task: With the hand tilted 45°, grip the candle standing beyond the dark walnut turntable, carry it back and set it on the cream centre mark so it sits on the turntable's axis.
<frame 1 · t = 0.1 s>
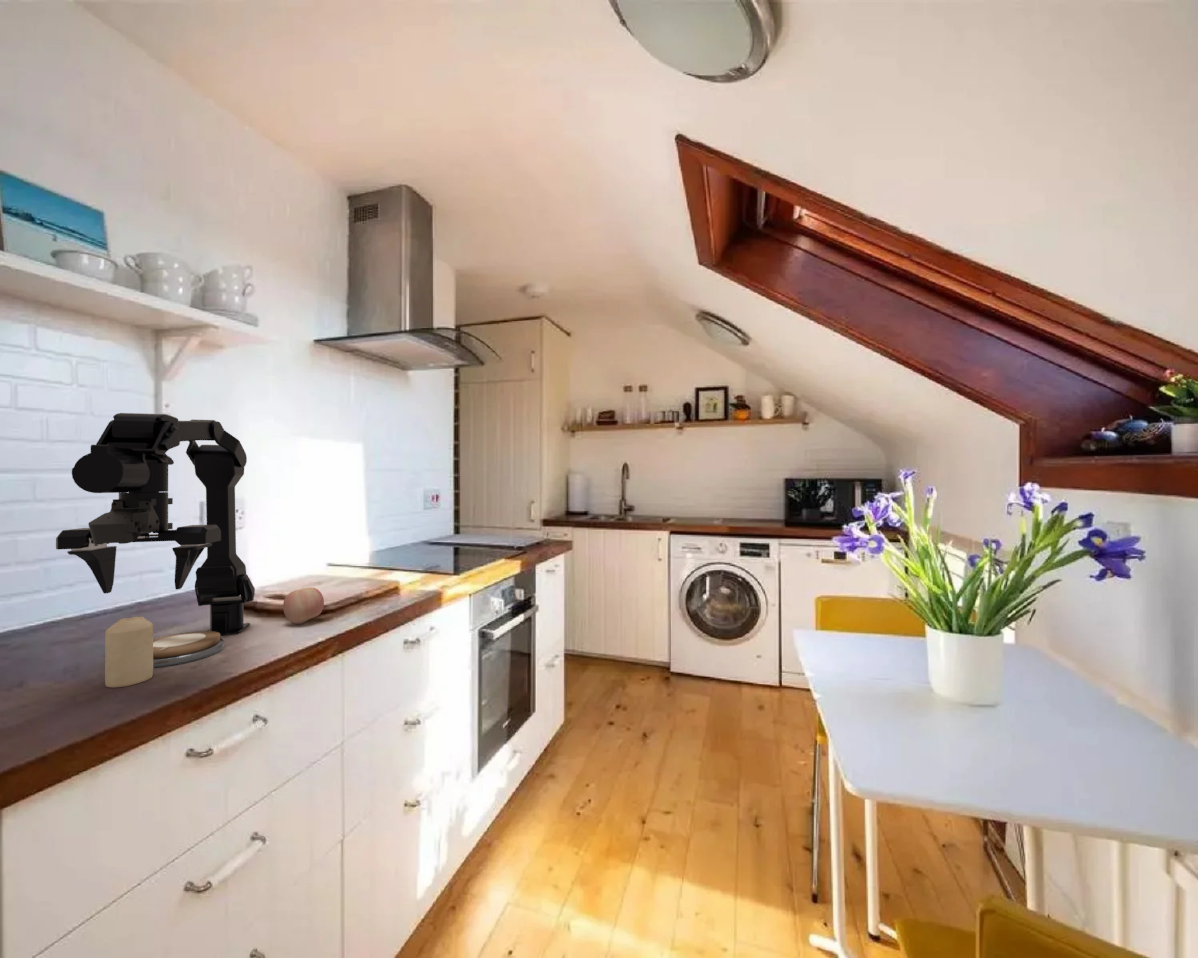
hand: (143, 590, 76), 15 cm above the kitchen counter, tool pointing down, fingers open, 9 cm apart
turntable: (179, 643, 89), point 2 cm above the kitchen counter, hinge at 0.0°
turntable base: (179, 654, 89), on the kitchen counter
candle: (129, 681, 77), on the kitchen counter
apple: (303, 623, 109), on the kitchen counter
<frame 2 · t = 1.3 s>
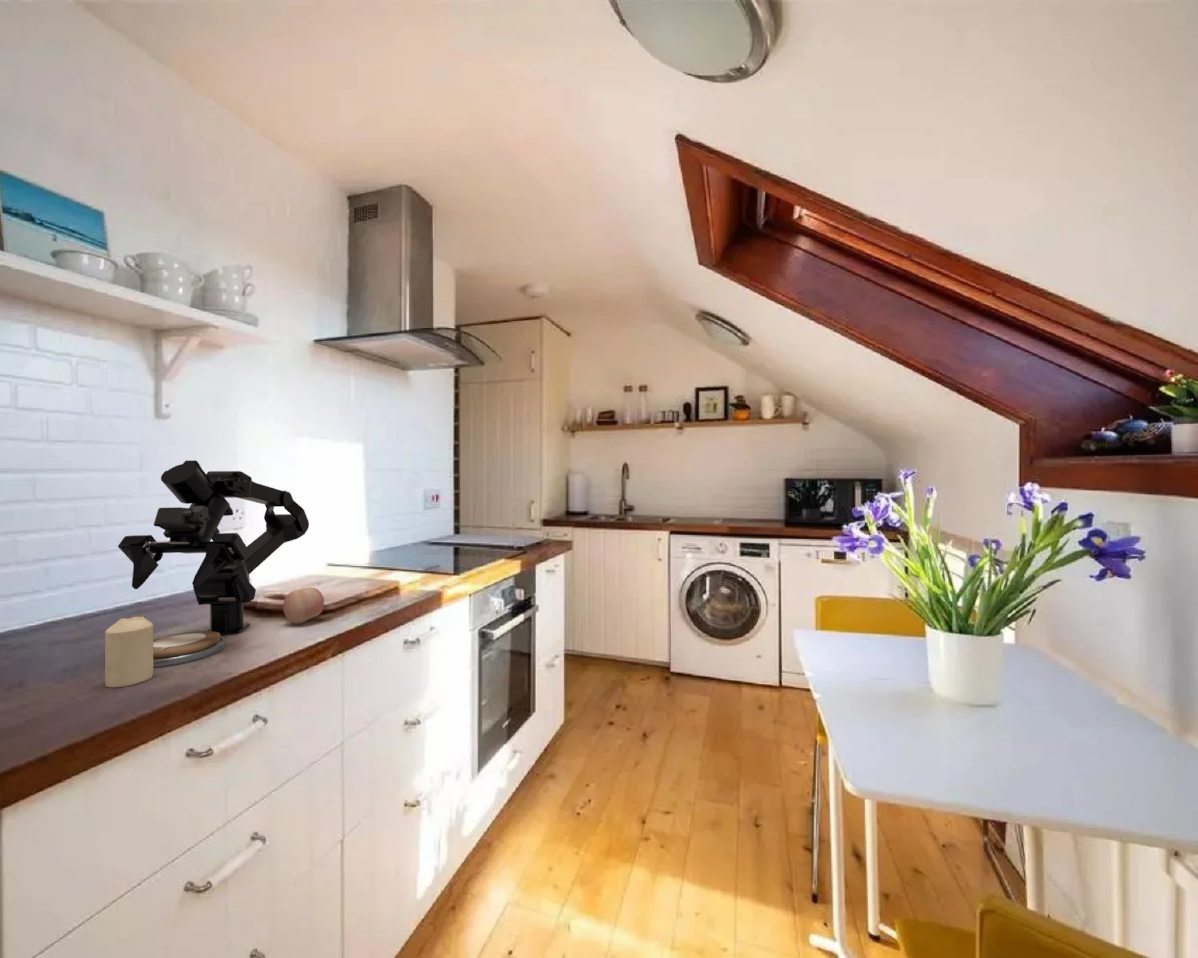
hand: (164, 586, 85), 13 cm above the kitchen counter, tool tilted 45°, fingers open, 9 cm apart
nothing on the kitchen counter moved.
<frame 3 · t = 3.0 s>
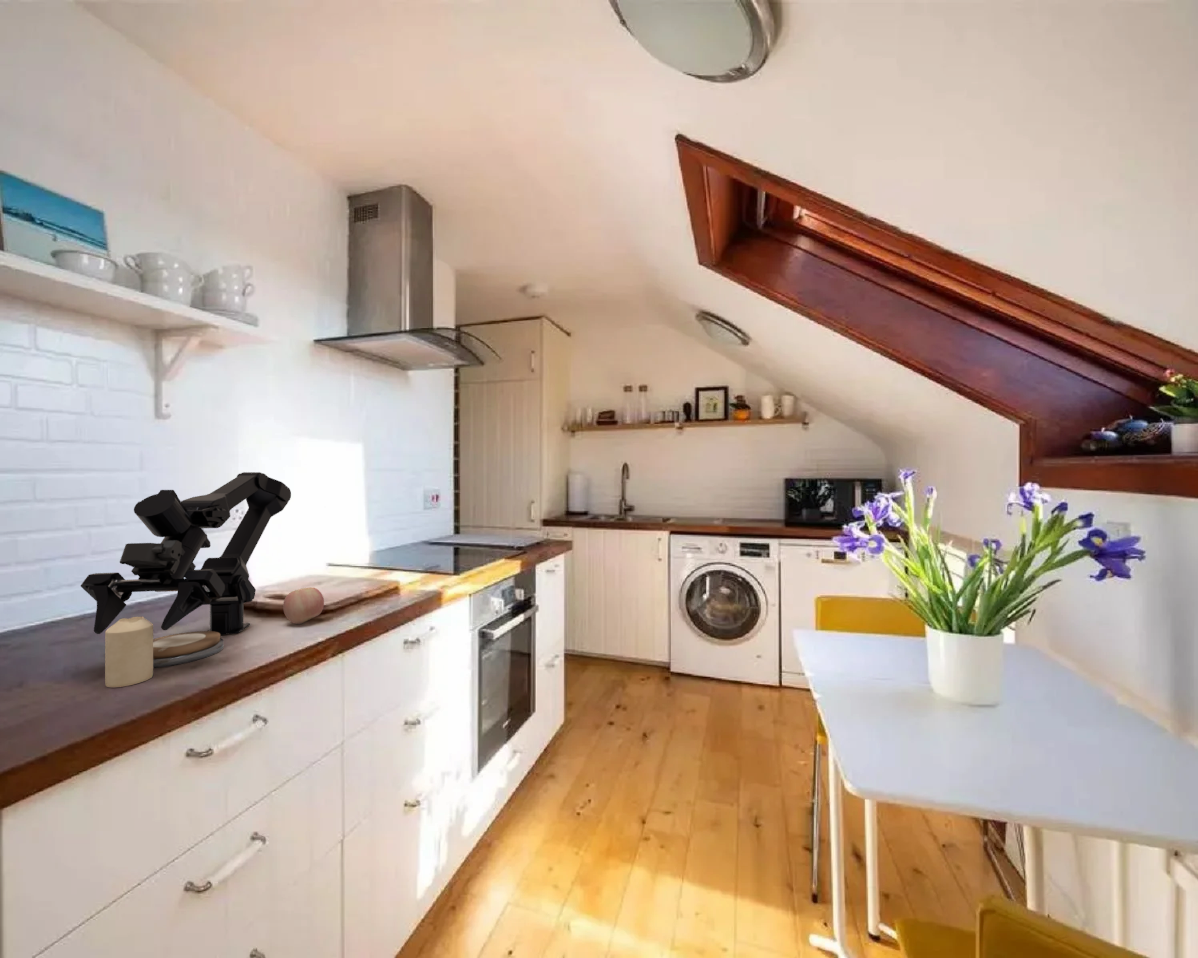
hand: (130, 630, 77), 8 cm above the kitchen counter, tool tilted 45°, fingers open, 9 cm apart
nothing on the kitchen counter moved.
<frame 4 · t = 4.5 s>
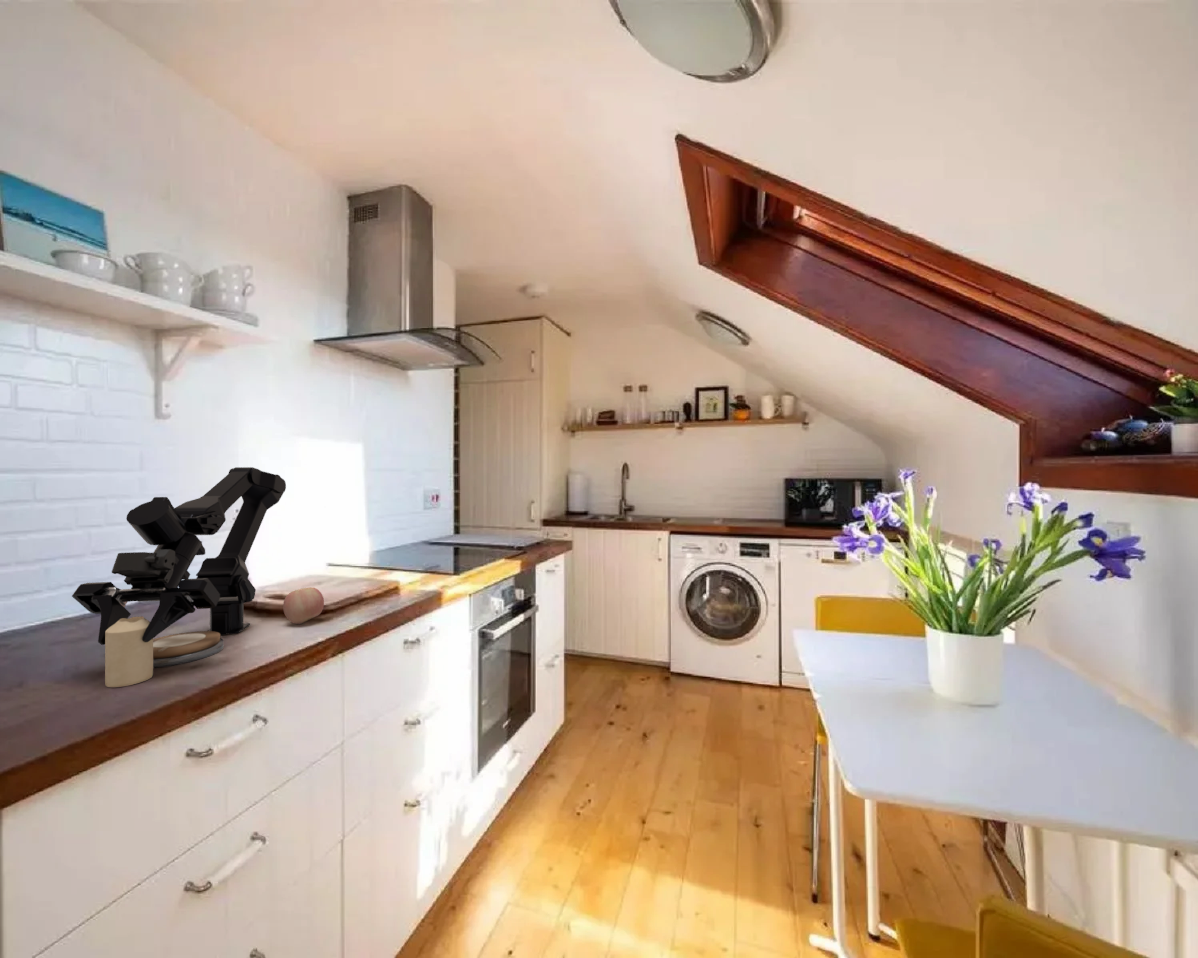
hand: (122, 642, 76), 7 cm above the kitchen counter, tool tilted 45°, fingers closed on candle, 5 cm apart
candle: (129, 681, 77), on the kitchen counter, touching gripper
everything else where it was.
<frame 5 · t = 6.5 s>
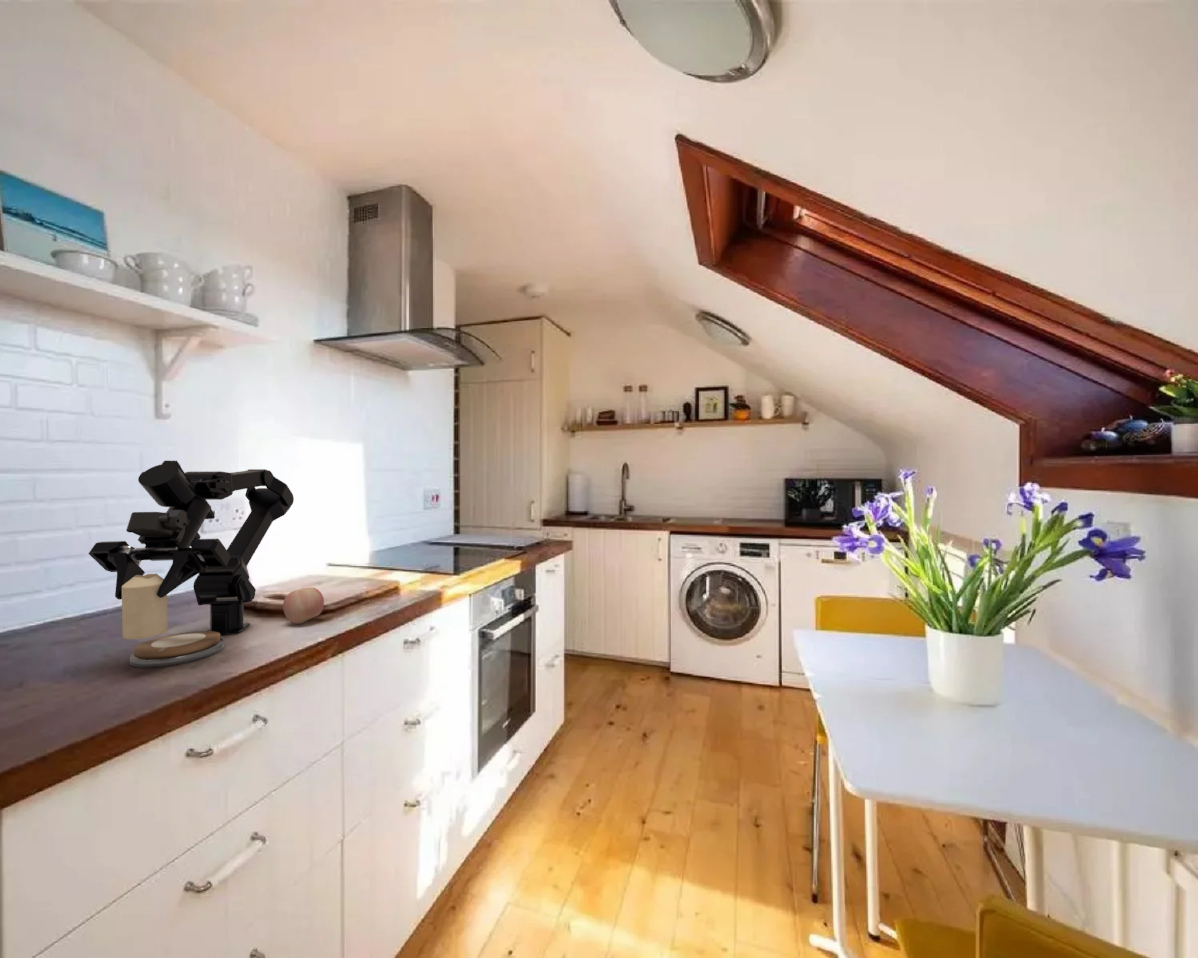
hand: (138, 597, 79), 13 cm above the kitchen counter, tool tilted 45°, fingers closed on candle, 5 cm apart
candle: (145, 635, 81), point 6 cm above the kitchen counter, touching gripper
everything else where it was.
when the fingers open (10 cm above the kitchen counter, at t = 8.7 s): candle stays where it is, resting on turntable.
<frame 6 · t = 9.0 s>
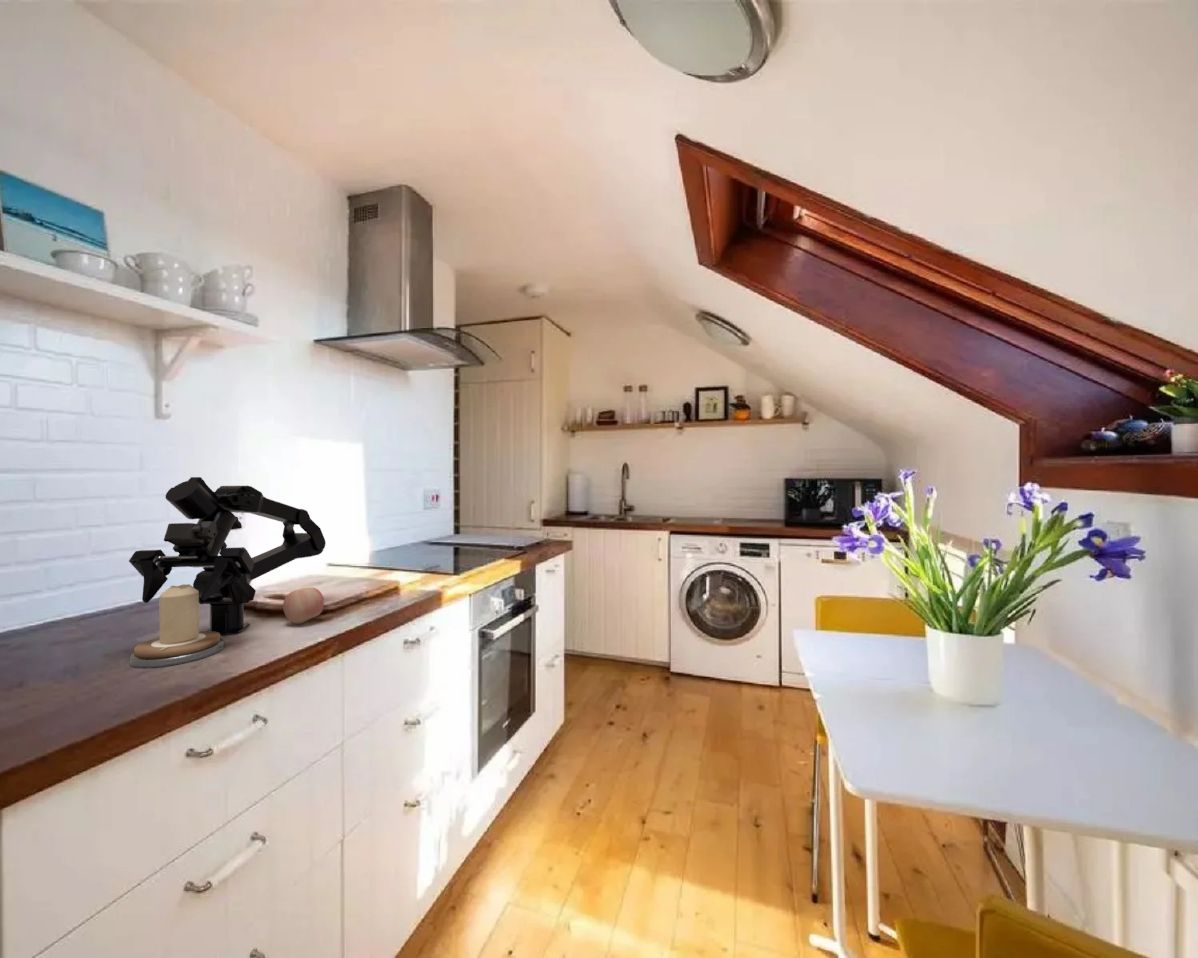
hand: (174, 600, 88), 10 cm above the kitchen counter, tool tilted 45°, fingers open, 9 cm apart
turntable: (179, 643, 89), point 2 cm above the kitchen counter, hinge at 0.0°, touching candle
candle: (179, 640, 89), point 3 cm above the kitchen counter, touching turntable
everything else where it was.
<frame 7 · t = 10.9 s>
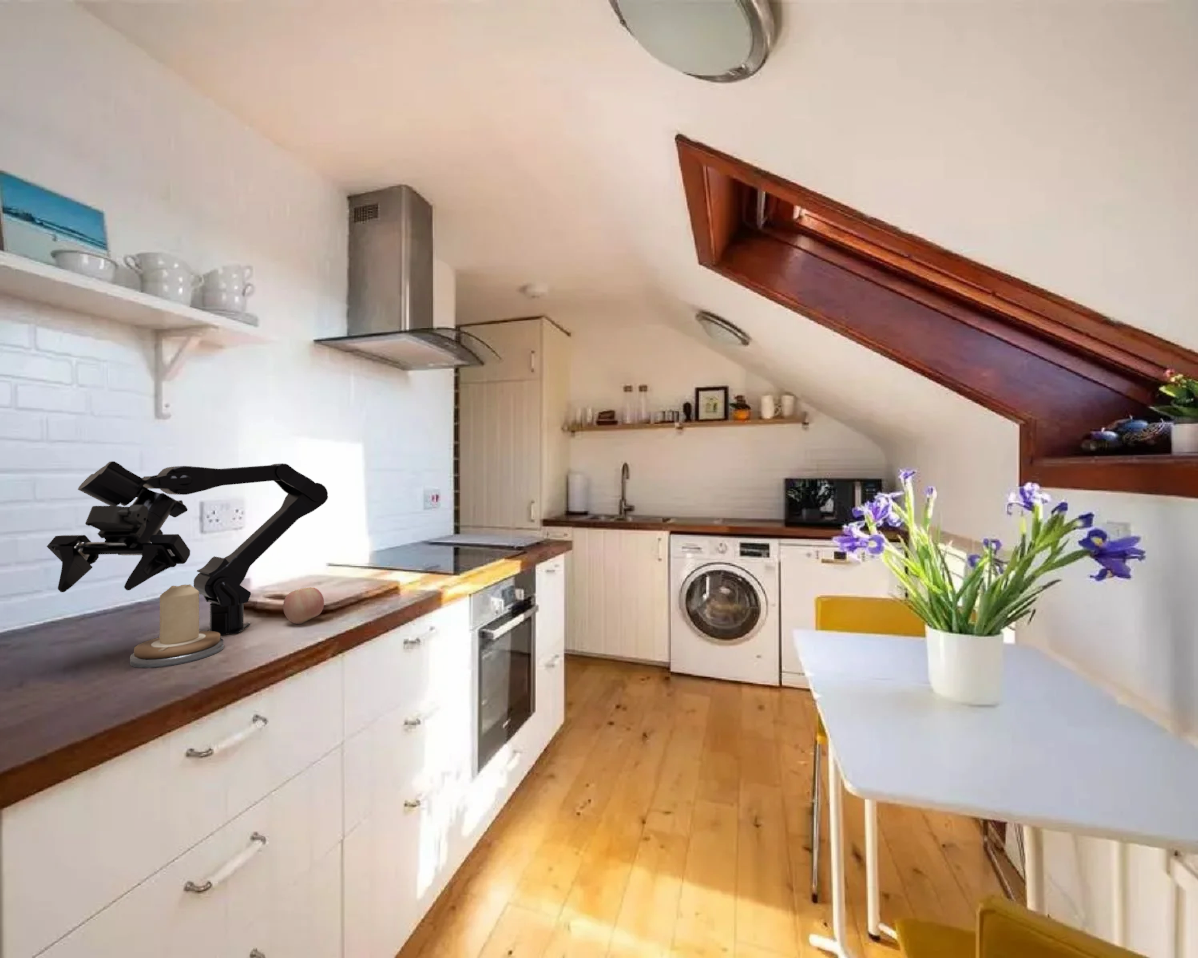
hand: (93, 589, 80), 14 cm above the kitchen counter, tool tilted 45°, fingers open, 9 cm apart
nothing on the kitchen counter moved.
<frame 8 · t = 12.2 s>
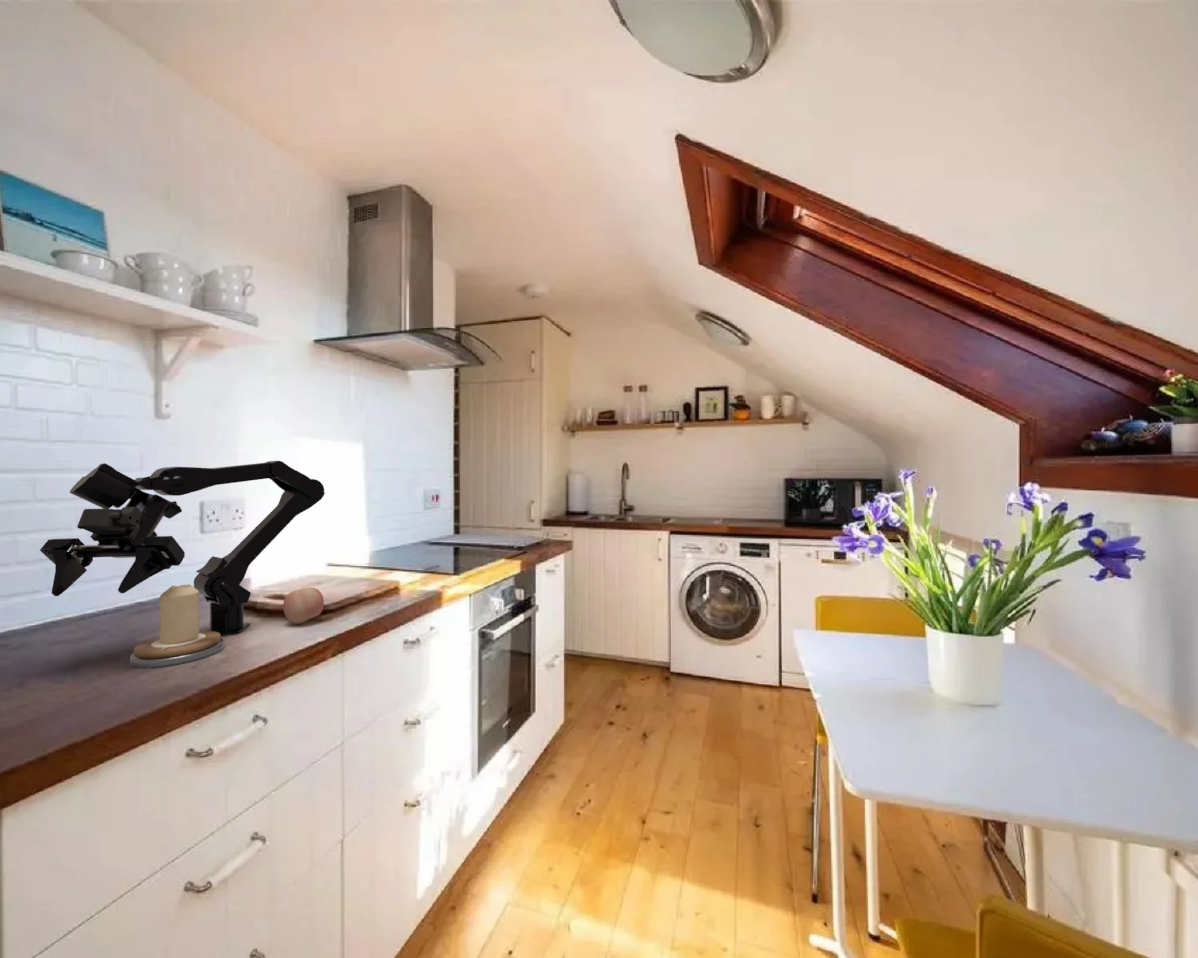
hand: (87, 593, 79), 14 cm above the kitchen counter, tool tilted 45°, fingers open, 9 cm apart
nothing on the kitchen counter moved.
at the end: candle 0.2 cm off-centre on the turntable, point 2.5 cm above the turntable's base; candle tilted 0°; the gripper is holding nothing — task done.
